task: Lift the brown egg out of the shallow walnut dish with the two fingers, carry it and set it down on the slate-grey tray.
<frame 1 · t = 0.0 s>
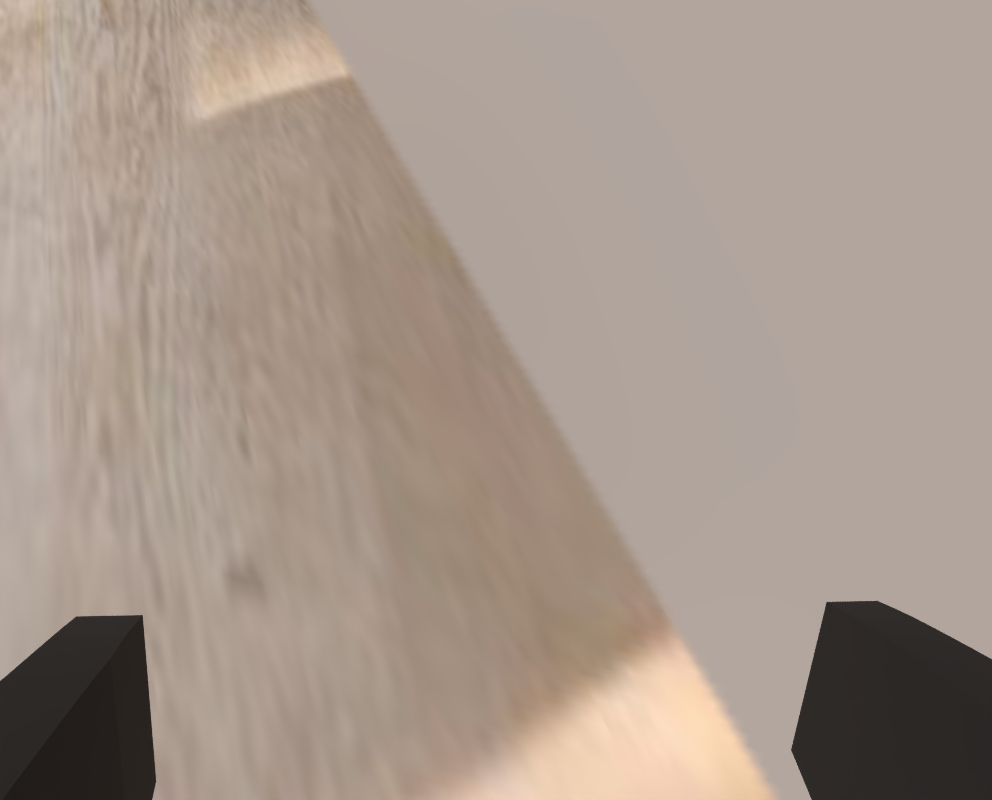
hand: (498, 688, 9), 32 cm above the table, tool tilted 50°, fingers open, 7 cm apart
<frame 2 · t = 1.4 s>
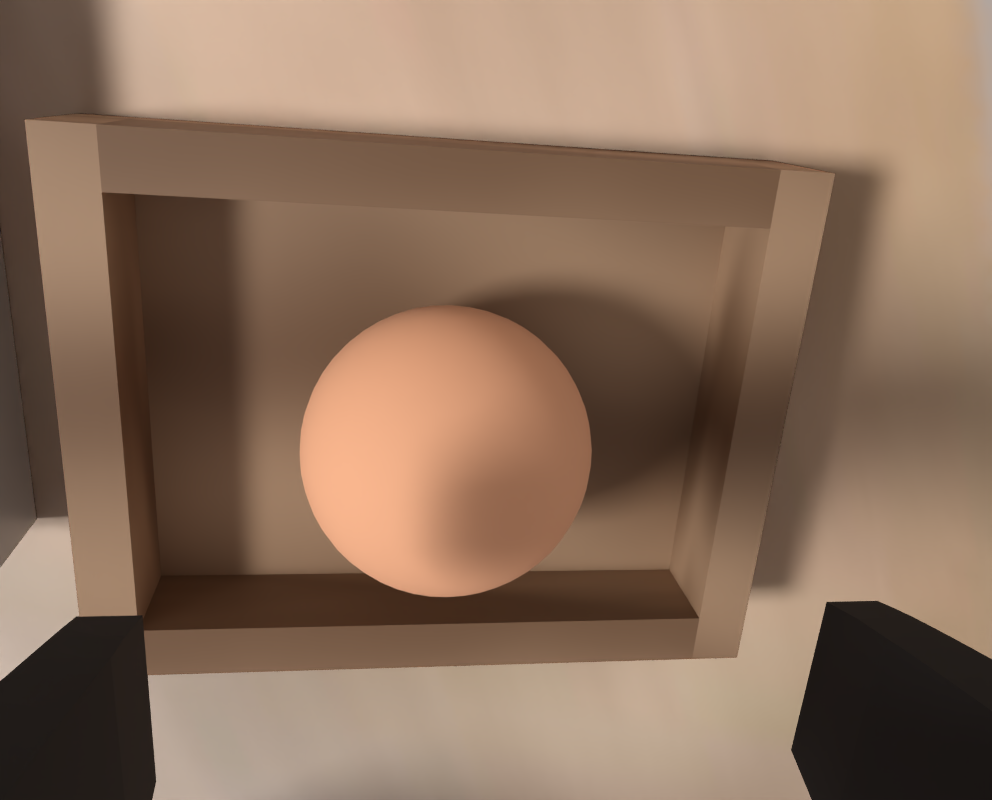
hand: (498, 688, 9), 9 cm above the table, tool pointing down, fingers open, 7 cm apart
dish: (433, 389, 18), on the table
brown egg: (436, 399, 17), point 1 cm above the table, touching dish
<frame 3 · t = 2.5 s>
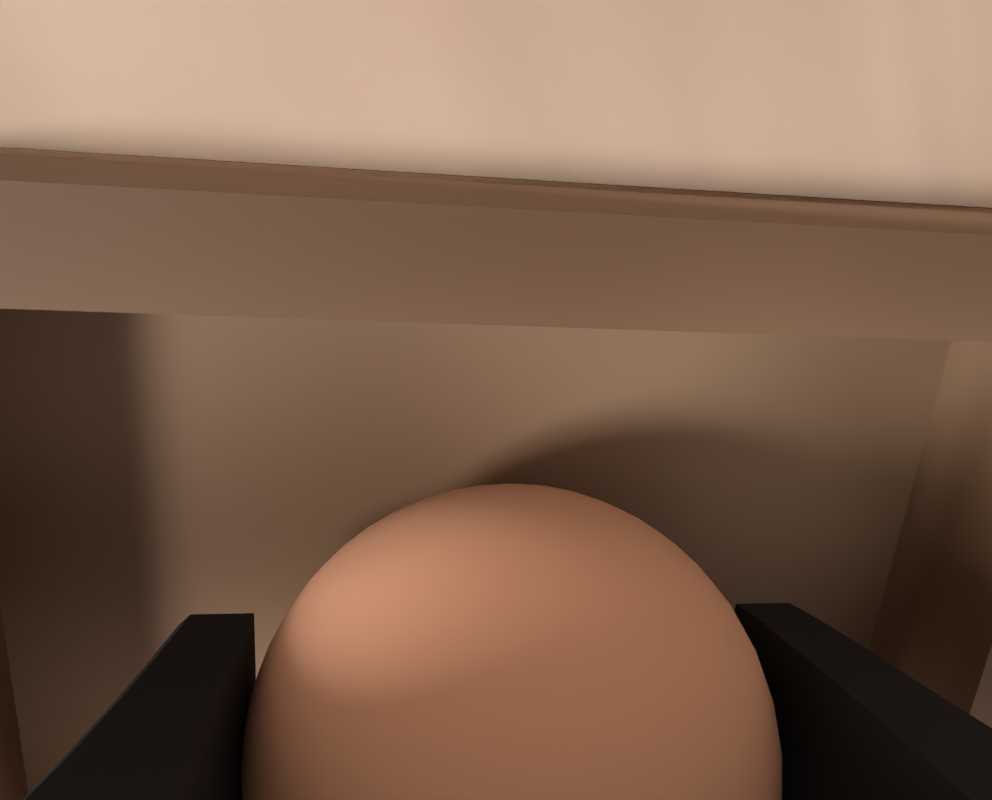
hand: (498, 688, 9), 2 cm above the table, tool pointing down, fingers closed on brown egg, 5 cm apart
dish: (473, 571, 11), on the table
brown egg: (478, 597, 11), point 1 cm above the table, touching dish, gripper
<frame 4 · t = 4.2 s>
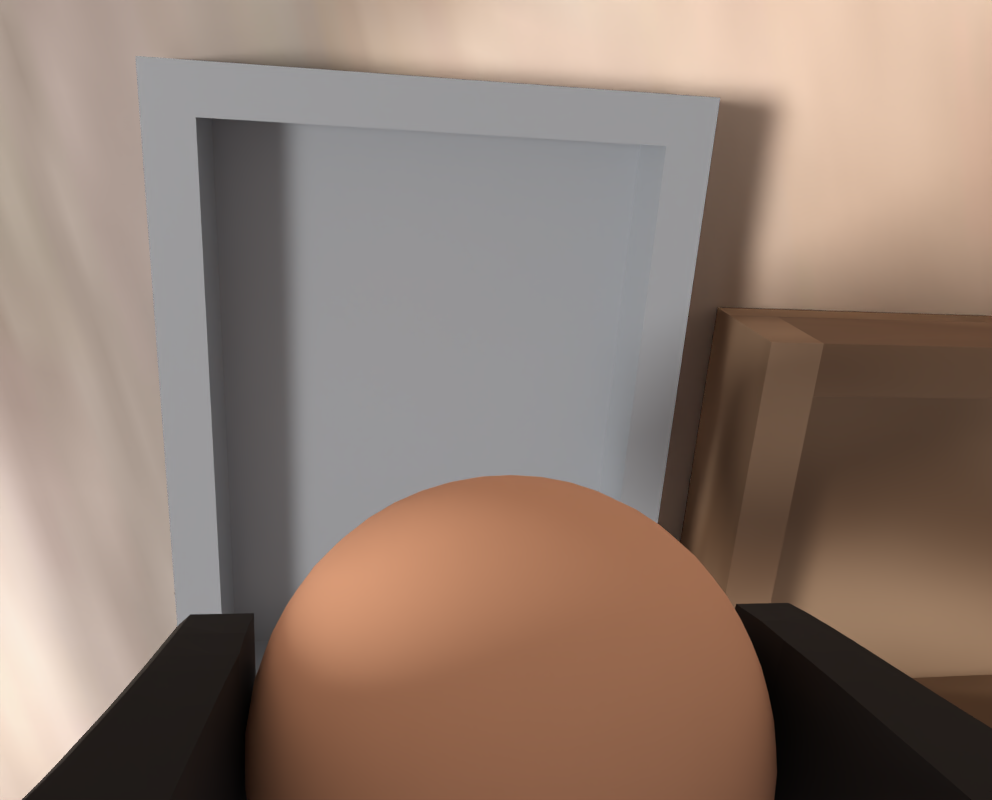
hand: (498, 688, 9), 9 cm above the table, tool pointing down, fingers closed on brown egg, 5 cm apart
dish: (945, 521, 20), on the table
tray: (421, 395, 17), on the table
brown egg: (489, 588, 11), point 7 cm above the table, touching gripper
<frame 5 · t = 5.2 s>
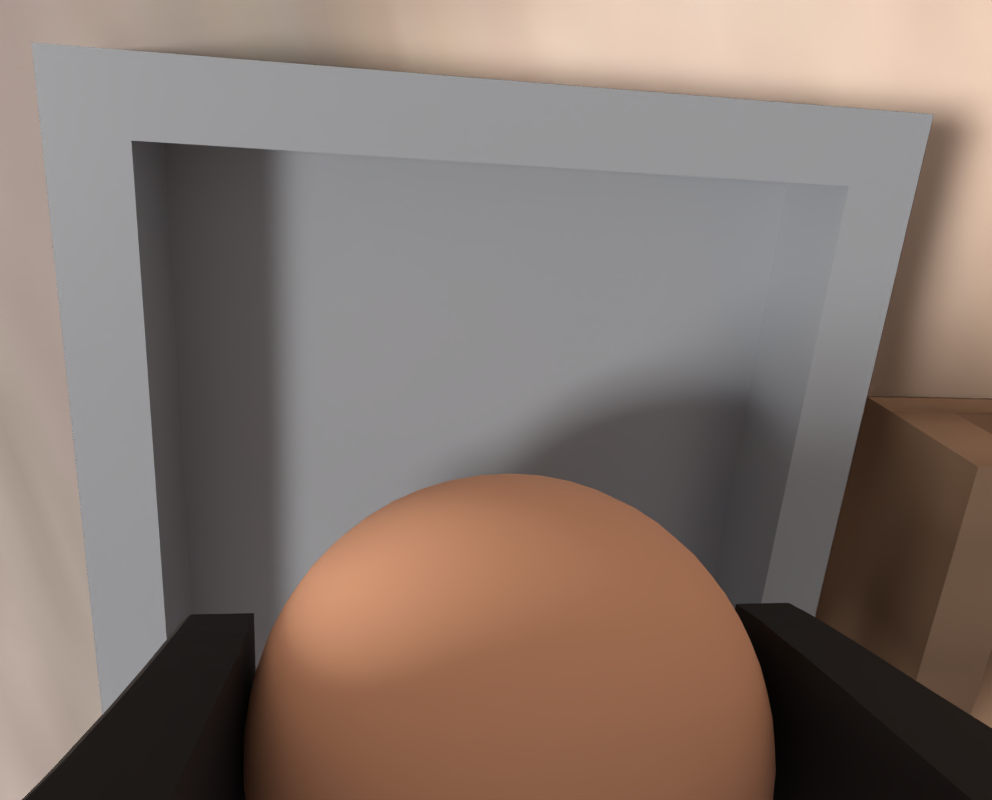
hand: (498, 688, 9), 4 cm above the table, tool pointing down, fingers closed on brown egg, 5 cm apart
tray: (461, 516, 12), on the table
brown egg: (488, 587, 11), point 2 cm above the table, touching gripper
when the fingers open (4 cm above the table, at t = 5.7 s): brown egg drops 1 cm, resting on tray.
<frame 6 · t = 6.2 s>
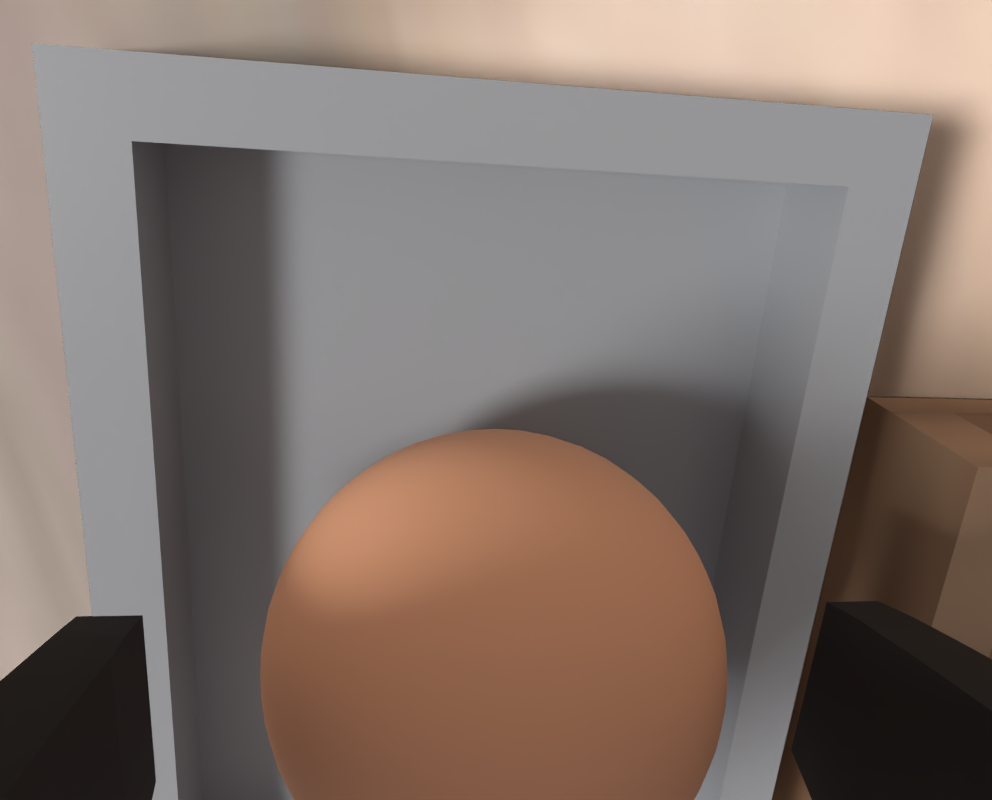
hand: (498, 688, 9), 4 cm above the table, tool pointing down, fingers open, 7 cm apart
tray: (461, 516, 12), on the table
brown egg: (477, 541, 12), point 1 cm above the table, touching tray
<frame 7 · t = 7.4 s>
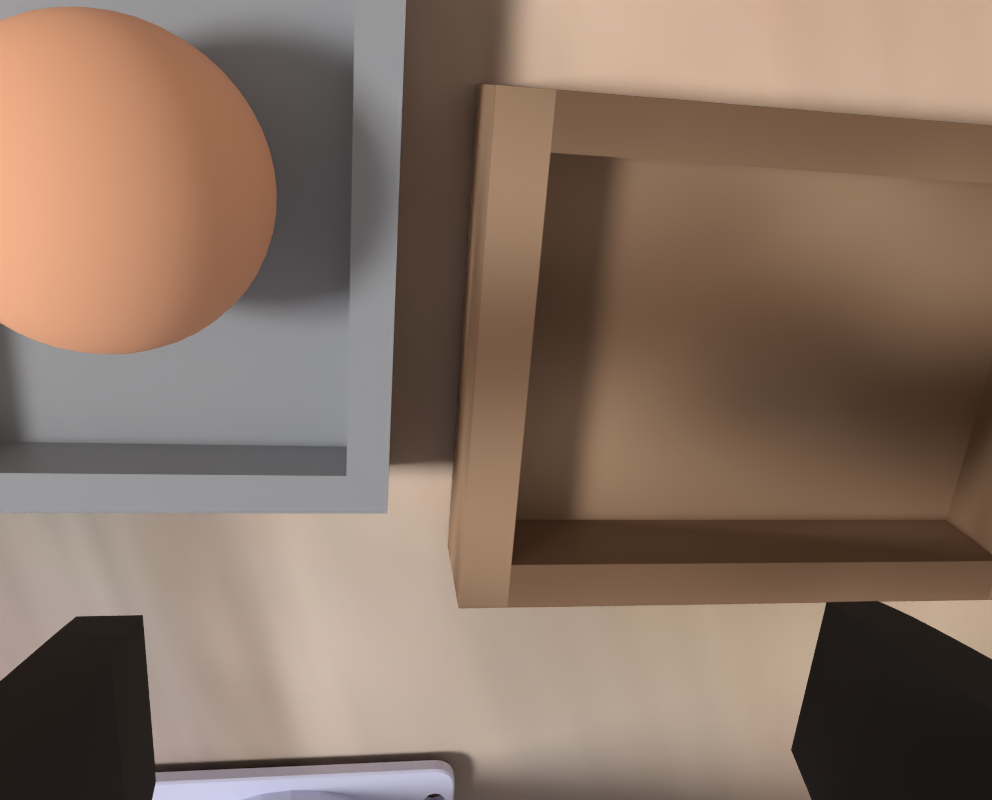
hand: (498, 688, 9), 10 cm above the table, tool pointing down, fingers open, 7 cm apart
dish: (751, 347, 19), on the table
tray: (152, 171, 16), on the table
brown egg: (149, 174, 15), point 1 cm above the table, touching tray
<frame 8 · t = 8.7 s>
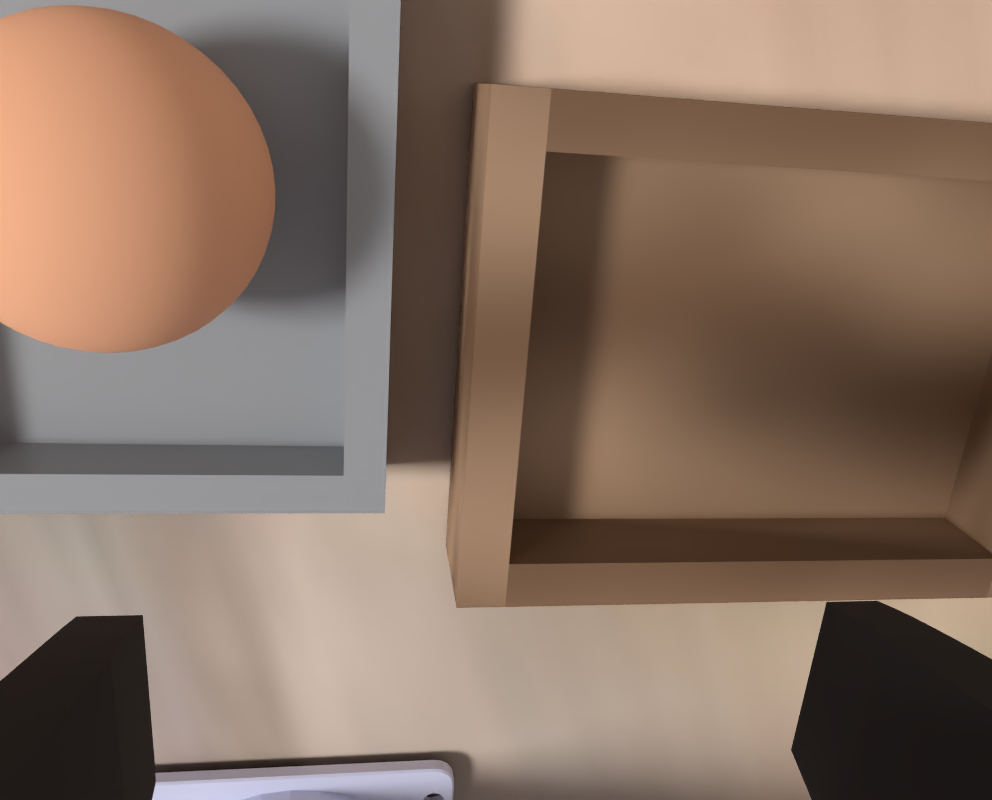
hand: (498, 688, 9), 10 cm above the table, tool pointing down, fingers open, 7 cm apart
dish: (749, 345, 19), on the table
tray: (148, 172, 16), on the table
brown egg: (145, 174, 15), point 1 cm above the table, touching tray
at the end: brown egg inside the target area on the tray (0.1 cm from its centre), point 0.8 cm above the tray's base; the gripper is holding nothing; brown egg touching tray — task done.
